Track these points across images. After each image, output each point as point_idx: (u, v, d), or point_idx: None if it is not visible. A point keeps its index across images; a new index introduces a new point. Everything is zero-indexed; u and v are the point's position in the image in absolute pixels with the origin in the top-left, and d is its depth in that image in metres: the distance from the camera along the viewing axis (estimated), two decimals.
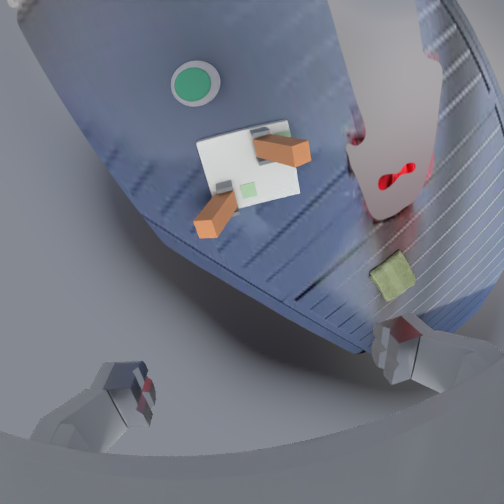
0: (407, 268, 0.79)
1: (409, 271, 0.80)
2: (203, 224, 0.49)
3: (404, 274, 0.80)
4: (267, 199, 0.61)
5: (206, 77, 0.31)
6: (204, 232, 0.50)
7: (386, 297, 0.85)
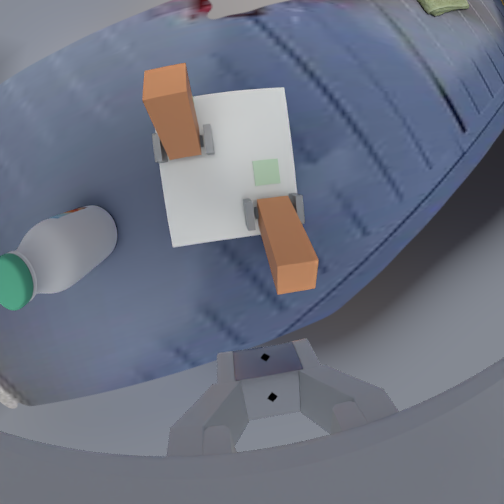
0: None
1: None
2: (286, 280, 0.26)
3: None
4: (288, 142, 0.33)
5: None
6: (304, 279, 0.26)
7: (463, 4, 0.27)
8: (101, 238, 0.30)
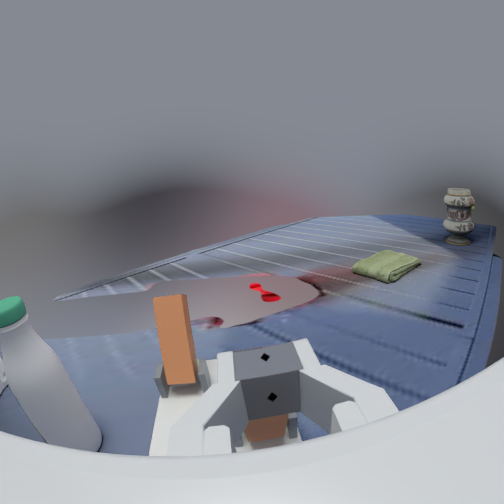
0: (370, 257, 0.73)
1: (373, 255, 0.74)
2: None
3: (378, 256, 0.72)
4: None
5: (10, 297, 0.22)
6: None
7: (413, 260, 0.67)
8: (80, 413, 0.24)
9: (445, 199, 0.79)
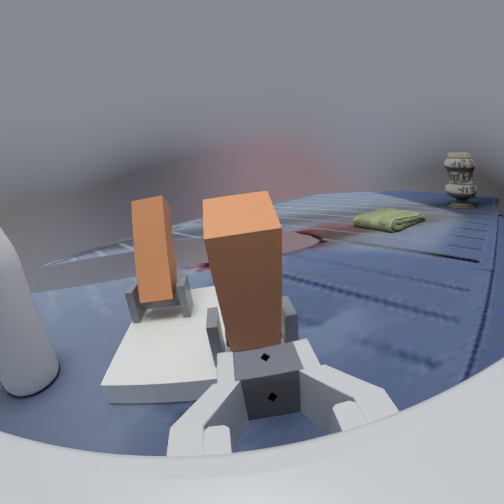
0: (371, 212, 0.69)
1: (375, 211, 0.70)
2: (218, 215, 0.15)
3: (380, 212, 0.68)
4: None
5: None
6: (251, 213, 0.15)
7: (417, 213, 0.63)
8: (32, 326, 0.20)
9: (445, 162, 0.75)
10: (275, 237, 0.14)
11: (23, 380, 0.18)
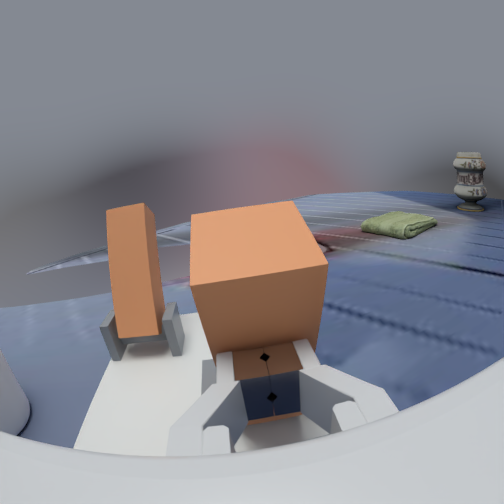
0: (380, 216, 0.63)
1: (384, 215, 0.64)
2: (216, 240, 0.09)
3: (390, 215, 0.62)
4: None
5: None
6: (272, 237, 0.09)
7: (429, 218, 0.57)
8: None
9: (455, 162, 0.70)
10: (316, 279, 0.08)
11: None
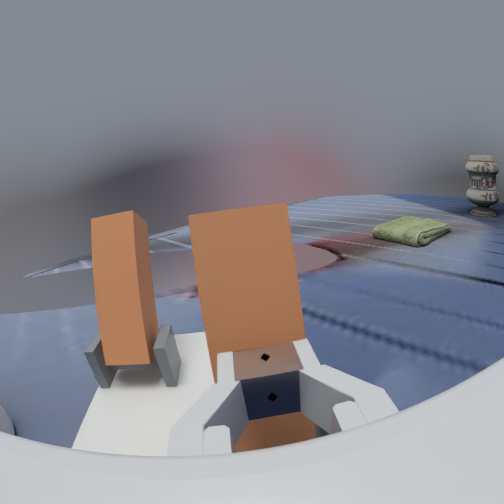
0: (392, 221, 0.59)
1: (396, 220, 0.60)
2: None
3: (402, 221, 0.58)
4: None
5: None
6: None
7: (443, 224, 0.53)
8: None
9: (467, 166, 0.65)
10: (280, 216, 0.11)
11: None
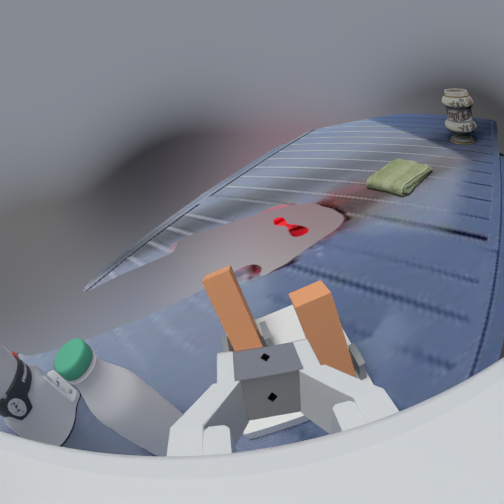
0: (382, 170, 0.69)
1: (384, 167, 0.70)
2: (299, 297, 0.28)
3: (390, 168, 0.68)
4: None
5: (69, 341, 0.25)
6: (315, 291, 0.28)
7: (424, 168, 0.63)
8: (170, 413, 0.30)
9: (443, 101, 0.68)
10: (329, 298, 0.26)
11: None
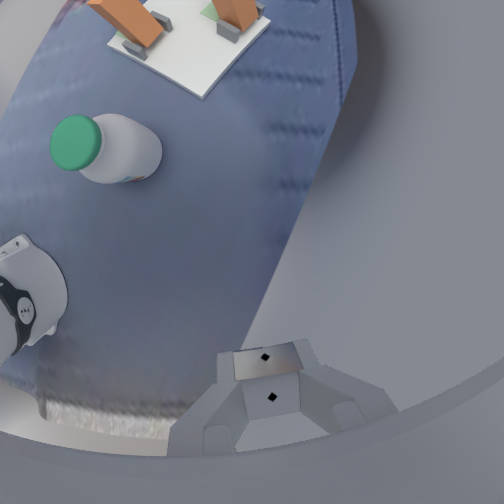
0: None
1: None
2: None
3: None
4: None
5: (53, 136, 0.18)
6: None
7: None
8: None
9: None
10: None
11: (160, 151, 0.36)
